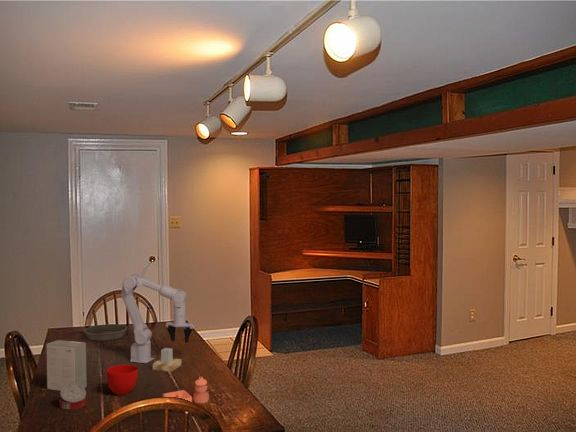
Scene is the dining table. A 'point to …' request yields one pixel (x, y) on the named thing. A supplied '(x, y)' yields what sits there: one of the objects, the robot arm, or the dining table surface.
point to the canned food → (72, 396)
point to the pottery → (198, 396)
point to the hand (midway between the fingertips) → (179, 341)
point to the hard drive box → (65, 363)
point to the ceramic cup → (122, 378)
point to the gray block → (166, 355)
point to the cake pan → (105, 332)
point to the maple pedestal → (167, 365)
